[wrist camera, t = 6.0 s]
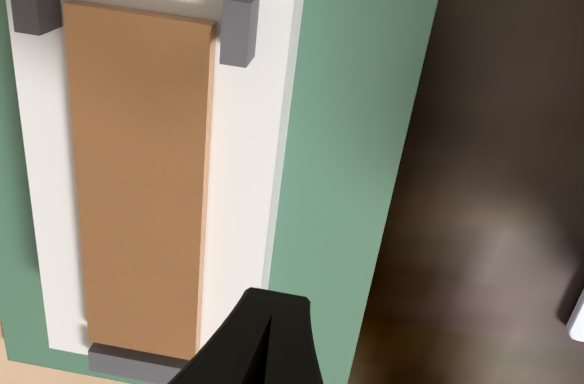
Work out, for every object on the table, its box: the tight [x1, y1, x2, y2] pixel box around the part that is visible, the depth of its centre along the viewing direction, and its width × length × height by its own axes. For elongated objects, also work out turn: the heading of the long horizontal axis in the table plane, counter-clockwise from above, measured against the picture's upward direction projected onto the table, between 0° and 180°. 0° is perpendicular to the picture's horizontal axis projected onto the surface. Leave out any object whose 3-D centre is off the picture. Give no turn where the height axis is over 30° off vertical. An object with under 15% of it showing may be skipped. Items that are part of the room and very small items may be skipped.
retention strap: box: [63, 0, 217, 360], centre depth 18 cm, size 4×12×1 cm, turn 173°
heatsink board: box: [0, 0, 438, 384], centre depth 18 cm, size 16×26×5 cm, turn 173°
